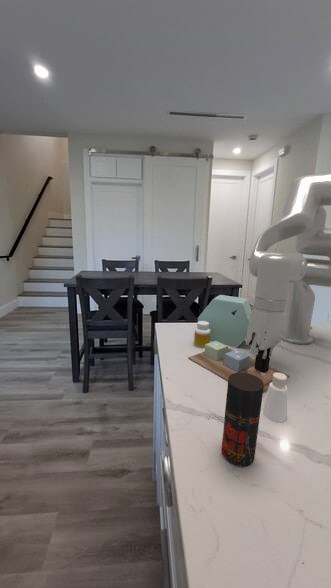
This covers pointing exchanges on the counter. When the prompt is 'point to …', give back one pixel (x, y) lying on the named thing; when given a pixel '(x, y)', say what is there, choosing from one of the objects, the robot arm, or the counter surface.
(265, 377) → the tile three
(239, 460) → the deodorant
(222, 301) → the mint hexagonal clock
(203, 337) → the supplement bottle
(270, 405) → the pepper shaker
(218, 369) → the board
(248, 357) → the tile two
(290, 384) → the counter surface
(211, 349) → the tile one
